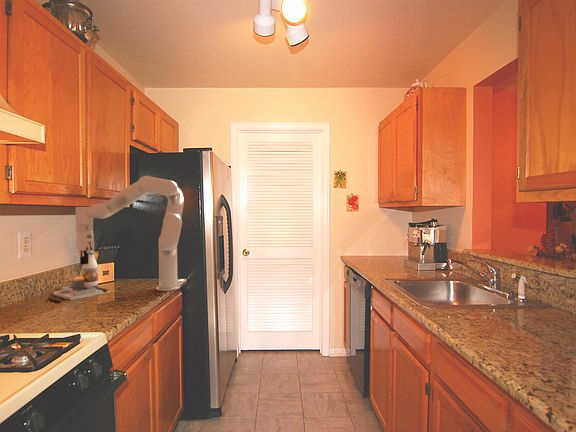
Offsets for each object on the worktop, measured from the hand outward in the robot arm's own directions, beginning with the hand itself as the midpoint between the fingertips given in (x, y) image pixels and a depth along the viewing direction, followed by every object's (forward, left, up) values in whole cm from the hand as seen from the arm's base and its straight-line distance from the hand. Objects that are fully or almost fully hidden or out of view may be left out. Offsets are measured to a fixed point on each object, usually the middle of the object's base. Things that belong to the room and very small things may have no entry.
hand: (84, 264), depth 160 cm
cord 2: (-11, -8, -17) cm, 22 cm away
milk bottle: (-13, -24, -17) cm, 32 cm away
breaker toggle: (0, -8, -15) cm, 17 cm away
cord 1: (+12, -4, -17) cm, 21 cm away
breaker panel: (0, -8, -17) cm, 18 cm away
